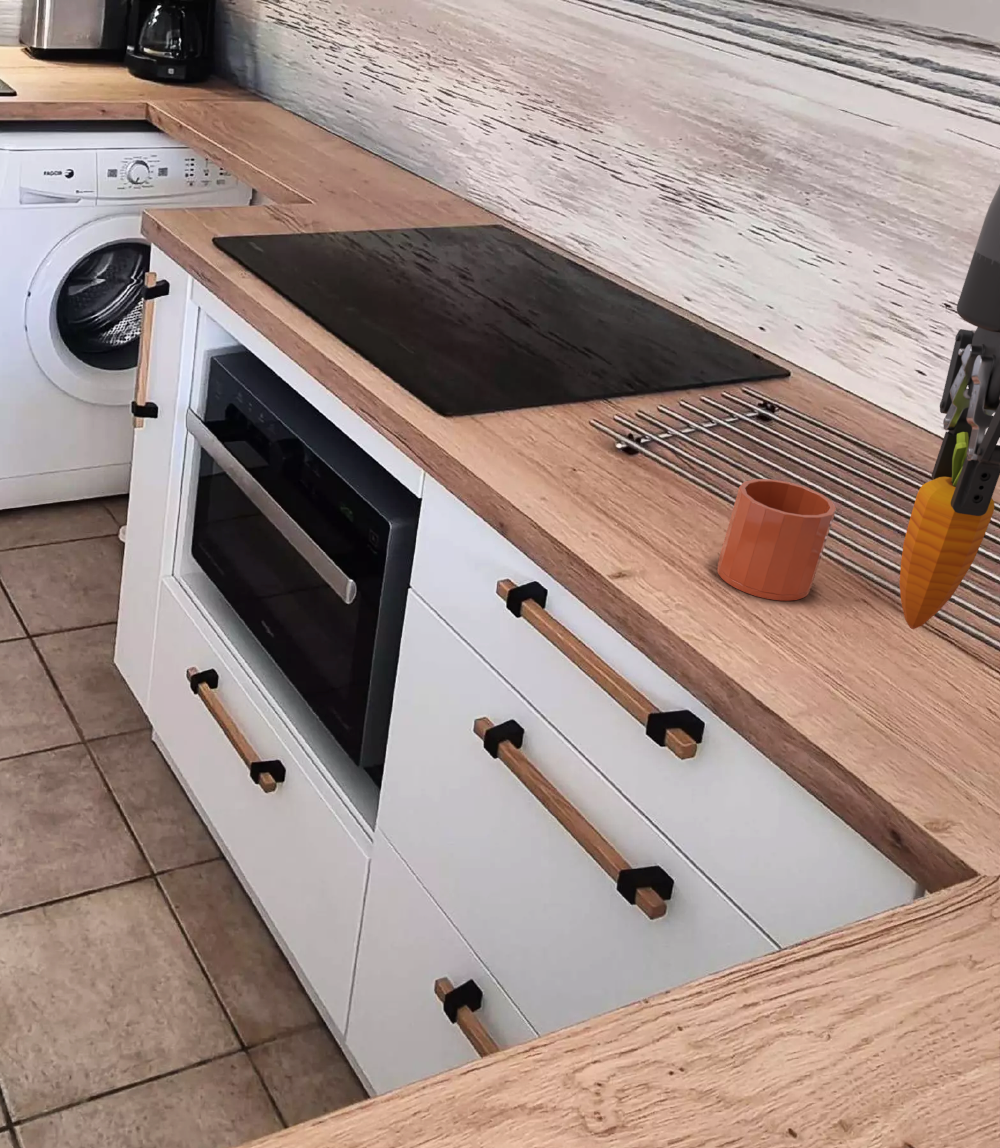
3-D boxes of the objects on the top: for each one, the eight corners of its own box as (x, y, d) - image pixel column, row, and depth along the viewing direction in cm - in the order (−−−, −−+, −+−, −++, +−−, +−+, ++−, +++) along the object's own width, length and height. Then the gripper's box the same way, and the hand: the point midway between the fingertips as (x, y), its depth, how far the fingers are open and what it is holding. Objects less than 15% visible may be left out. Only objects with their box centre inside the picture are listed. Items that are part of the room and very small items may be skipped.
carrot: (879, 605, 112) (941, 416, 105) (950, 625, 110) (1018, 433, 103) (873, 631, 108) (937, 436, 101) (946, 652, 106) (1017, 454, 99)
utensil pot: (801, 568, 137) (826, 488, 133) (816, 607, 130) (843, 523, 126) (712, 553, 138) (734, 473, 134) (722, 591, 130) (746, 507, 127)
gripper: (1140, 291, 90) (1044, 548, 98) (1063, 239, 103) (984, 470, 110) (1010, 273, 91) (925, 529, 98) (950, 224, 104) (878, 454, 111)
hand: (956, 496), depth 104 cm, fingers closed on carrot, 4 cm apart
